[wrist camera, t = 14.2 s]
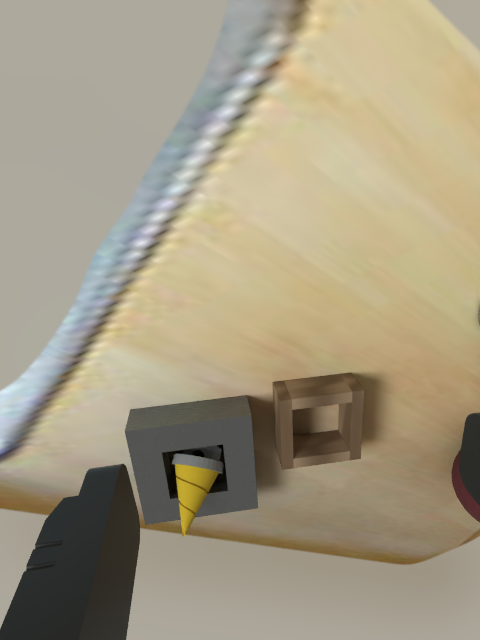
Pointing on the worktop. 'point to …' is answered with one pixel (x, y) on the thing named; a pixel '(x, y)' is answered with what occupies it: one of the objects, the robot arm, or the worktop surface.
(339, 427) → the wooden square frame
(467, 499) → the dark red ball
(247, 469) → the hub plate
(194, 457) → the drill bit
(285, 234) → the worktop surface
